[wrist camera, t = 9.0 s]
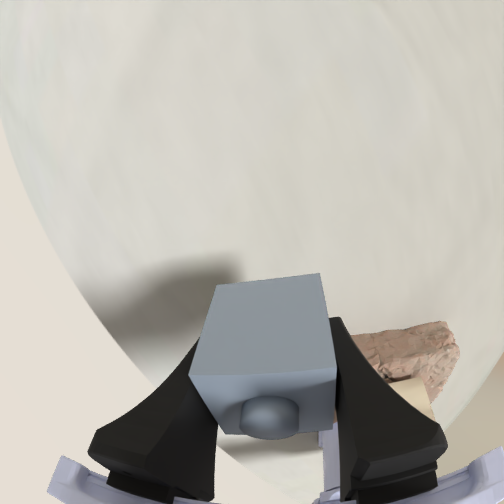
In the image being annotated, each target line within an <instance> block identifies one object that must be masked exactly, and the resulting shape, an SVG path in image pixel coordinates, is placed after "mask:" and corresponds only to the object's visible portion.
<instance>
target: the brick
mask: <svg viewBox="0 0 504 504" xmlns="http://www.w3.org/2000/svg"><path fill="white" fill-rule="evenodd" d="M453 335H454V334H453V333H452V332H451V331H450V330H449V328H448V325H447V323H446V322H441V321H439V322H434V323H432V322H431V323H427V324H422V325H418V326H414V327H410V328H408V329H406V330H386V331H383V332H379V333H372V334H360V335H351V337H352V339H353V341H354V342H355V344H356V345H357V347H358V348H359V349H360V351H361V352H362V354H363V355H364V356H365V358H366V359H367V360H368V362H369V363H370V364H371V365H372V367H373V368H374V369H375V370H376V371H377V373H378V374H379V375H380V376H381V377H382V378H383V379H384V380H385V381H386V382H387V383H388V384H389V383H394V382H399V381H403V380H408V379H412V378H416V377H420V376H421V378H422V380H423V383H424V386H425V389H426V392H427V395H428V398H429V401H430V404H431V403H432V402H433V401H434V400H435V398H437V396H438V395H439V394H440V392H441V391H442V390H443V385H445V383H446V382H447V380H448V376H449V375H451V373H452V371H453V369H454V367H455V364H456V362H457V360H458V359H459V355H460V351H459V347H458V346H457V345H456V344H455V339H454V337H453ZM336 422H337V416H336V410H335V408H334V421H333V424H334V423H336Z"/></svg>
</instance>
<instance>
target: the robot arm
mask: <svg viewBox="0 0 504 504" xmlns="http://www.w3.org/2000/svg"><path fill="white" fill-rule="evenodd" d="M329 323H330V329H331V335H332V340H333V346H334V352H335V359H336V365H337V373H336V393H335V410H336V416H337V422H336V423H334V424H333V430H326V431H319V447H323V467H324V492H321V493H320V498H317V499H315V500H314V502H313V503H312V504H497V503H499V502H500V501H502V500H503V499H504V451H503V449H502V446H499V447H497V448H495V449H494V450H492V451H490V452H488V453H486V454H484V455H482V456H480V457H478V458H477V459H475V460H474V461H472V462H471V463H470V464H469V465H468V466H466V467H464V468H462V469H459V470H457V471H454V472H452V473H450V474H447V475H445V476H442V477H439V478H437V477H436V472H435V470H436V469H437V462H436V460H437V459H438V458H439V457H440V456H441V455H442V454H443V453H444V452H445V451H446V449H447V448H448V444H447V440H446V437H445V435H444V433H443V430H442V428H441V426H440V425H439V424H438V423H437V422H435V421H433V420H432V419H430V418H429V417H427V416H426V415H424V414H423V413H421V412H420V411H419V410H417V409H416V408H415V407H413V406H412V405H411V404H410V403H408V402H407V401H406V400H405V399H404V398H403V397H402V396H400V395H399V394H398V393H397V392H396V391H395V390H394V389H393V388H392V387H391V386H390V385H389V384H388V383H387V382H386V381H385V380H384V379H383V378H382V377H381V376H380V375H379V374H378V373H377V371H376V370H375V369H374V368H373V367H372V365H371V364H370V363H369V362H368V360H367V359H366V358H365V356H364V355H363V354H362V352H361V351H360V349H359V348H358V347H357V345H356V344H355V342H354V341H353V339H352V337H351V336H350V334H349V333H348V331H347V329H346V327H345V325H344V323H343V321H342V319H341V318H340V317H333V318H329ZM199 339H200V337H199ZM199 339H198V340H197V341H196V343H195V344H194V346H193V347H192V348H191V350H190V351H189V352H188V354H187V355H186V356H185V357H184V359H183V360H182V361H181V363H180V364H179V365H178V366H177V367H176V369H175V370H174V371H173V372H172V373H171V374H170V375H169V377H168V378H167V379H166V380H165V381H164V382H163V383H162V384H161V385H160V386H159V387H158V388H157V389H156V390H155V391H154V392H153V393H152V394H151V395H150V396H148V397H147V398H146V399H145V400H143V401H142V402H141V403H140V404H138V405H137V406H136V407H134V408H133V409H132V410H130V411H129V412H127V413H126V414H125V415H123V416H121V417H120V418H118V419H116V420H115V421H113V422H111V423H109V424H107V425H105V426H103V427H101V428H100V429H97V430H96V433H95V435H94V437H93V439H92V442H91V444H90V447H89V449H88V455H89V456H90V457H91V458H92V459H94V460H95V461H97V462H98V463H99V464H101V465H102V466H104V467H105V468H107V469H108V470H110V473H109V476H108V477H106V476H103V475H100V474H98V473H95V472H93V471H90V470H89V469H88V468H86V467H85V466H83V465H81V464H80V463H78V462H76V461H74V460H71V459H69V458H67V457H65V456H61V457H60V460H59V462H58V464H57V467H56V469H55V472H54V474H53V477H52V479H51V482H50V484H49V487H48V490H47V492H48V493H49V494H51V495H52V496H54V497H55V498H57V499H59V500H60V501H62V502H64V503H65V504H218V503H211V502H210V501H211V500H213V499H214V471H215V452H216V440H217V430H218V423H217V421H216V420H215V418H214V416H213V415H212V413H211V412H210V410H209V409H208V407H207V405H206V404H205V402H204V401H203V399H202V397H201V396H200V394H199V392H198V391H197V389H196V387H195V386H194V384H193V382H192V381H191V379H190V377H189V375H188V374H189V371H190V368H191V365H192V361H193V358H194V355H195V352H196V348H197V345H198V342H199Z"/></svg>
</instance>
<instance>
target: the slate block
mask: <svg viewBox="0 0 504 504" xmlns="http://www.w3.org/2000/svg"><path fill="white" fill-rule="evenodd" d="M336 373H337V365H336V359H335V352H334V346H333V340H332V335H331V329H330V323H329V318H328V312H327V307H326V302H325V297H324V292H323V287H322V282H321V277H320V273H316V274H308V275H300V276H292V277H284V278H275V279H267V280H258V281H249V282H240V283H230V284H220V285H217V286H216V289H215V292H214V295H213V298H212V301H211V304H210V307H209V310H208V314H207V317H206V320H205V323H204V326H203V329H202V332H201V336H200V339H199V342H198V345H197V348H196V352H195V355H194V358H193V361H192V365H191V368H190V371H189V374H188V375H189V377H190V379H191V381H192V382H193V384H194V386H195V387H196V389H197V391H198V392H199V394H200V396H201V397H202V399H203V401H204V402H205V404H206V405H207V407H208V409H209V410H210V412H211V413H212V415H213V416H214V418H215V420H216V421H217V423H218V424H219V426H220V427H221V429H222V430H223V432H224V433H225V434H234V435H248V436H251V437H254V438H258V439H266V440H276V439H283V438H287V437H290V436H293V435H294V434H296V433H306V432H317V431H326V430H333V421H334V408H335V393H336Z"/></svg>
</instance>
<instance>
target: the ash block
mask: <svg viewBox="0 0 504 504" xmlns="http://www.w3.org/2000/svg"><path fill="white" fill-rule="evenodd" d="M389 385H390V386H391V387H392V388H393V389H394V390H395V391H396V392H397V393H398V394H399V395H400V396H402V397H403V398H404V399H405V400H406V401H407V402H408V403H410V404H411V405H412V406H413V407H415V408H416V409H417V410H419V411H420V412H421V413H423V414H424V415H426V416H427V417H429V418H430V419H432V420H433V421H435V417H434V414H433V411H432V408H431V404H430V401H429V398H428V395H427V392H426V389H425V386H424V383H423V380H422V378H421V376H420V377H416V378H412V379H408V380H403V381H399V382H394V383H389ZM435 422H436V421H435Z"/></svg>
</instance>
